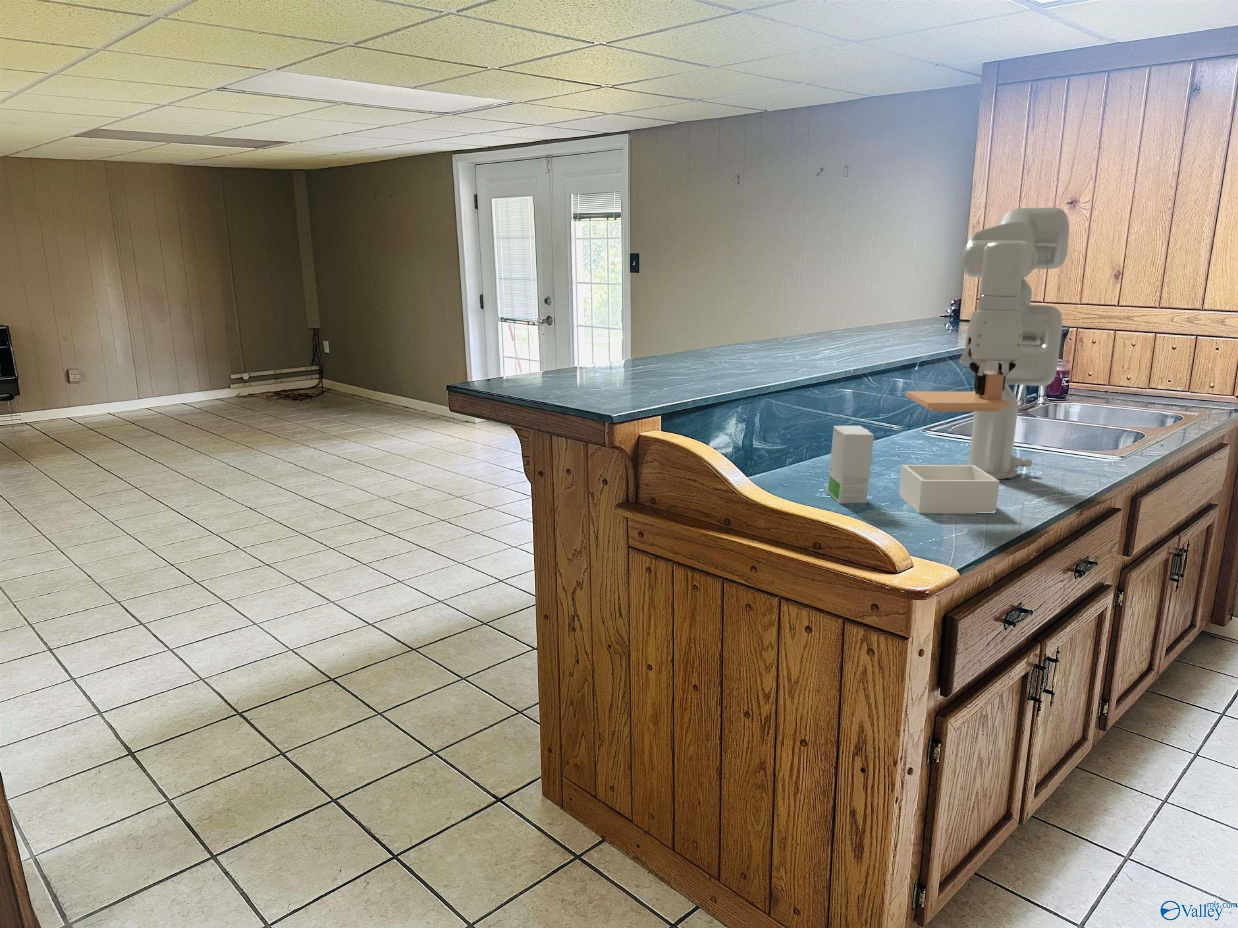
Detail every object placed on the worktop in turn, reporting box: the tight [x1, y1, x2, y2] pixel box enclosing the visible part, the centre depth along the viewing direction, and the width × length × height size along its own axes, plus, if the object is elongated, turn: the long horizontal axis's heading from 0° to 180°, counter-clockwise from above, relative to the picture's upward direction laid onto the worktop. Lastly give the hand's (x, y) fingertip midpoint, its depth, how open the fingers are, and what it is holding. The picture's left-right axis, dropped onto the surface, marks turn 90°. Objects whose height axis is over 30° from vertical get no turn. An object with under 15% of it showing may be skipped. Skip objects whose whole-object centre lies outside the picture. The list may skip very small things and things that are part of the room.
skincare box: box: [827, 425, 875, 505], centre depth 186 cm, size 8×7×16 cm
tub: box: [898, 464, 1000, 514], centre depth 183 cm, size 16×13×7 cm
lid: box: [905, 371, 1011, 412], centre depth 178 cm, size 17×14×7 cm
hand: (988, 393), depth 178 cm, fingers closed on lid, 3 cm apart
